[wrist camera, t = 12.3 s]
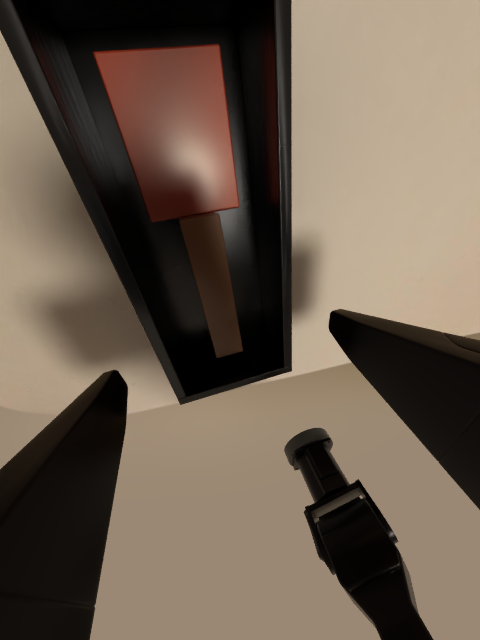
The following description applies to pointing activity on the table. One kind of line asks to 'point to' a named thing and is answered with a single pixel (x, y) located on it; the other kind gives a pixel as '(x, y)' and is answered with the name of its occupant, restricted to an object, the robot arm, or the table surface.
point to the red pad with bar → (182, 159)
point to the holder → (122, 188)
